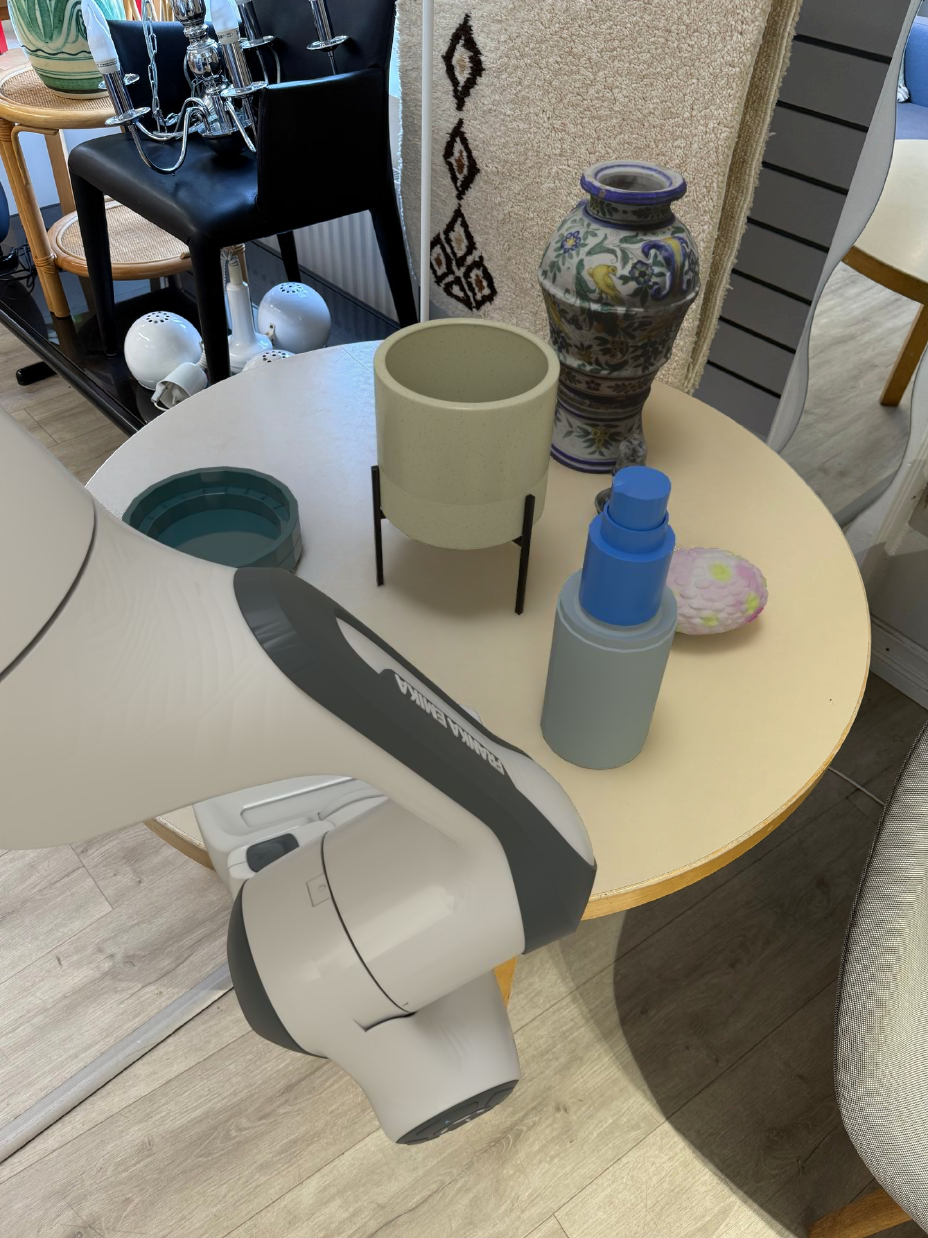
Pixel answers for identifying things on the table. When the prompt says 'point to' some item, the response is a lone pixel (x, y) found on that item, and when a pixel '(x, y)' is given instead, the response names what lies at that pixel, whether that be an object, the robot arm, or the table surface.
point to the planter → (463, 435)
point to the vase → (614, 304)
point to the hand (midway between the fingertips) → (320, 701)
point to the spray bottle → (613, 628)
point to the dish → (222, 517)
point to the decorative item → (715, 590)
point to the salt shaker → (624, 465)
